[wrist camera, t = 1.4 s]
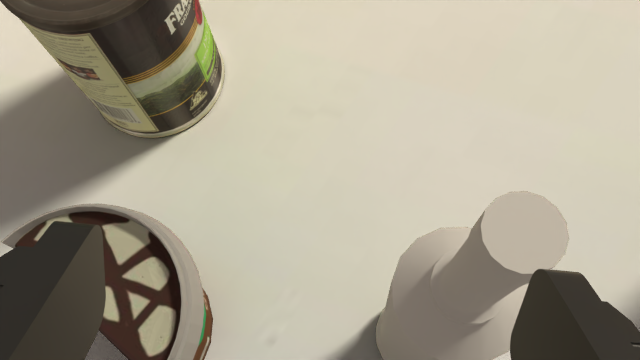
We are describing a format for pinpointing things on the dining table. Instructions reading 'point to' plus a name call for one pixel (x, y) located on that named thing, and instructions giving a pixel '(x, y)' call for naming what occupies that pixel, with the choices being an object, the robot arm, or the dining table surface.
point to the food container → (140, 282)
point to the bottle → (470, 282)
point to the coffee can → (132, 58)
